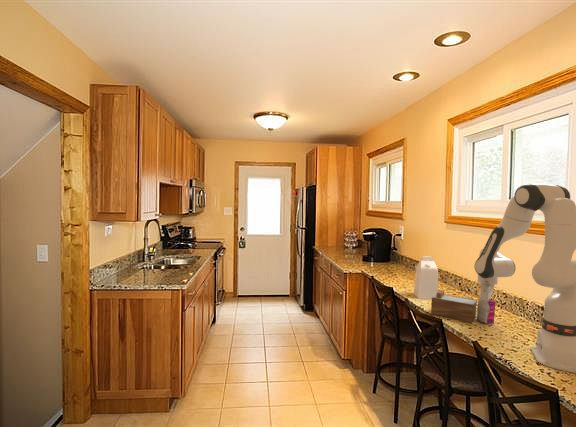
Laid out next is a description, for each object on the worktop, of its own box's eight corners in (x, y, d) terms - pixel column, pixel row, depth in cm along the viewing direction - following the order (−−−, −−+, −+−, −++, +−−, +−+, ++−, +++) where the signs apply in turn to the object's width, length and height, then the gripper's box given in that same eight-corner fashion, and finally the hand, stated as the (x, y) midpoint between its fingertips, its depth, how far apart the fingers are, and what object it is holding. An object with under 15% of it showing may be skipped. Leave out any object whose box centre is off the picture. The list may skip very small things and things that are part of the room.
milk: (432, 294, 231) (434, 255, 230) (438, 299, 220) (440, 258, 219) (413, 293, 233) (415, 254, 232) (418, 298, 221) (420, 257, 220)
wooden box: (472, 323, 178) (473, 305, 178) (431, 314, 190) (431, 297, 190) (475, 317, 188) (476, 299, 188) (436, 309, 200) (437, 293, 199)
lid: (473, 306, 179) (473, 299, 179) (432, 299, 191) (432, 292, 191) (476, 302, 187) (476, 295, 187) (436, 295, 198) (436, 289, 198)
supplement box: (485, 324, 178) (486, 301, 177) (476, 320, 183) (477, 298, 183) (494, 323, 179) (495, 301, 179) (485, 319, 185) (486, 297, 184)
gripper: (492, 284, 170) (490, 312, 171) (496, 277, 187) (495, 302, 187) (477, 282, 174) (476, 309, 174) (483, 275, 190) (481, 300, 191)
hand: (486, 306), depth 181 cm, fingers closed on supplement box, 8 cm apart
